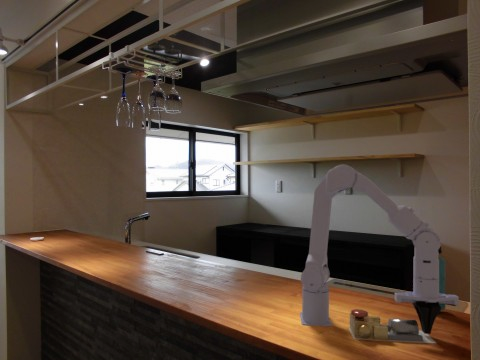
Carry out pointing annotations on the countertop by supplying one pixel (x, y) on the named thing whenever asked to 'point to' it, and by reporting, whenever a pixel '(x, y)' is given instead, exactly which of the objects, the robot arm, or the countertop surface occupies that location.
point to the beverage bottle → (441, 277)
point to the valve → (367, 326)
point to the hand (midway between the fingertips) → (426, 332)
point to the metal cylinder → (403, 326)
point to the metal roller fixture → (403, 337)
